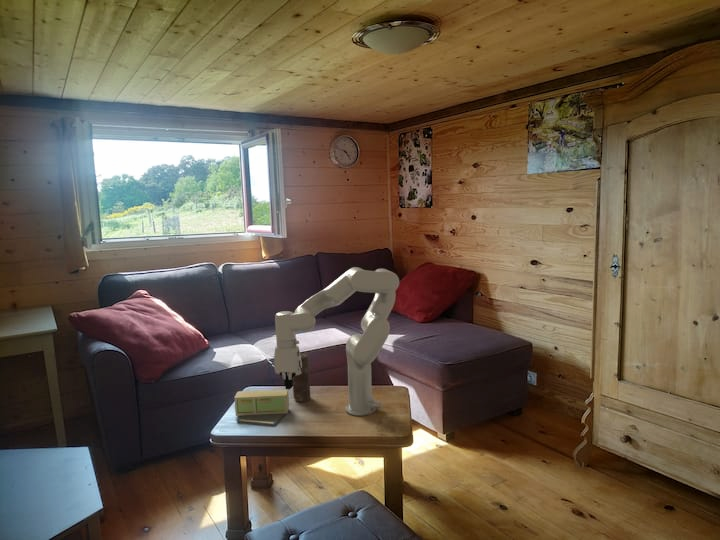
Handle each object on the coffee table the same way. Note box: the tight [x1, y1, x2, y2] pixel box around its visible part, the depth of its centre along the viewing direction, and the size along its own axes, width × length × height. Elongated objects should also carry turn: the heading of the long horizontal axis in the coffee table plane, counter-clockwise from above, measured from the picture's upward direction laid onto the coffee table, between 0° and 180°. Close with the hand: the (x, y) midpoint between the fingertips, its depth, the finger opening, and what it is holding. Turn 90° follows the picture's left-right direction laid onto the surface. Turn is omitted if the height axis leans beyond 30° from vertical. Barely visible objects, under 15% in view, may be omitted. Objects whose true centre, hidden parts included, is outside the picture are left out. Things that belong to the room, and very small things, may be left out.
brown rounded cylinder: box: [292, 353, 311, 403], centre depth 214 cm, size 8×7×20 cm
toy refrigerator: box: [234, 388, 290, 417], centre depth 201 cm, size 8×7×21 cm
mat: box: [236, 413, 287, 427], centre depth 198 cm, size 16×14×1 cm
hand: (289, 388), depth 194 cm, fingers closed
